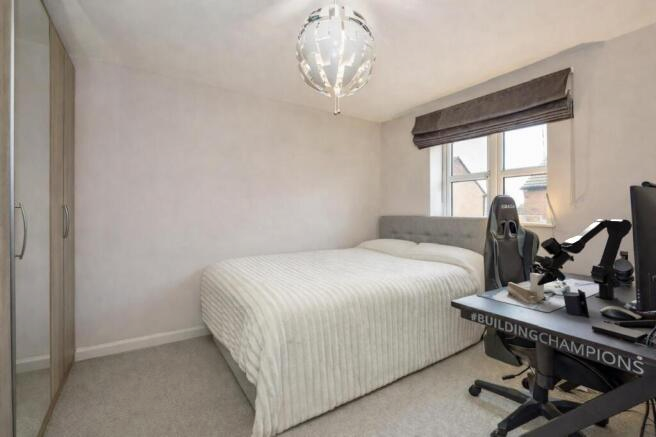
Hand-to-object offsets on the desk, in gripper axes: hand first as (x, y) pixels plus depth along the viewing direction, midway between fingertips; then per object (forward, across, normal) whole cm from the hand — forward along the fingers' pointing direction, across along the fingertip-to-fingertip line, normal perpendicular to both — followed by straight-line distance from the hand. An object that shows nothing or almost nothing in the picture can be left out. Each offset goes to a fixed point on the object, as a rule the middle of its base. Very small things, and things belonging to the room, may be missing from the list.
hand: (534, 283), depth 147 cm
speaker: (+4, +23, +7) cm, 24 cm away
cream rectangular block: (+4, 0, +6) cm, 7 cm away
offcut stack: (+8, -1, +3) cm, 8 cm away
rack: (+7, 0, +4) cm, 8 cm away
